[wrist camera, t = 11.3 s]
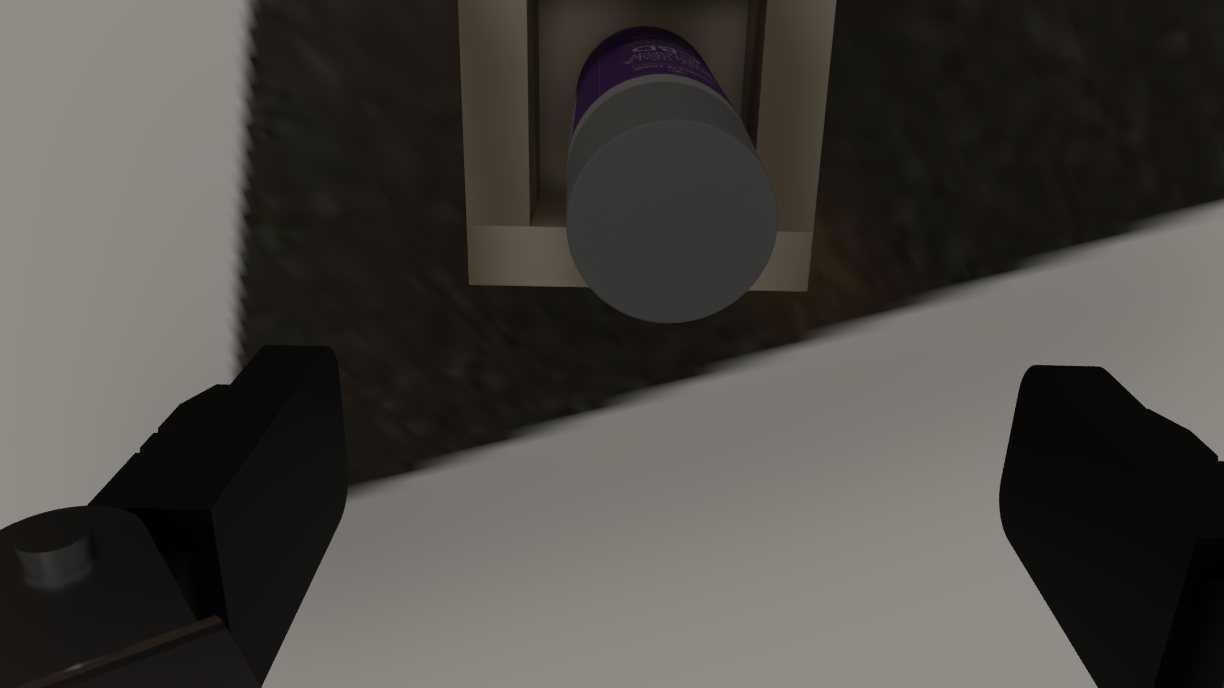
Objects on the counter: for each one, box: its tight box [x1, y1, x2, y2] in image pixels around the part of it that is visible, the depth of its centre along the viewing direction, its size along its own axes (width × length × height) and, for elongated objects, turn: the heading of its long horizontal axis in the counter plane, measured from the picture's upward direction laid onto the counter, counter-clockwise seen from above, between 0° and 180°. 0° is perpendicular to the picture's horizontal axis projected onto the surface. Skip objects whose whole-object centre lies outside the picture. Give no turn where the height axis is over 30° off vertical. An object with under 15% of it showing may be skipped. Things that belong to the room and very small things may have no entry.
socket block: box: [458, 0, 836, 291], centre depth 33 cm, size 11×11×5 cm
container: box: [566, 26, 778, 323], centre depth 28 cm, size 5×5×15 cm
